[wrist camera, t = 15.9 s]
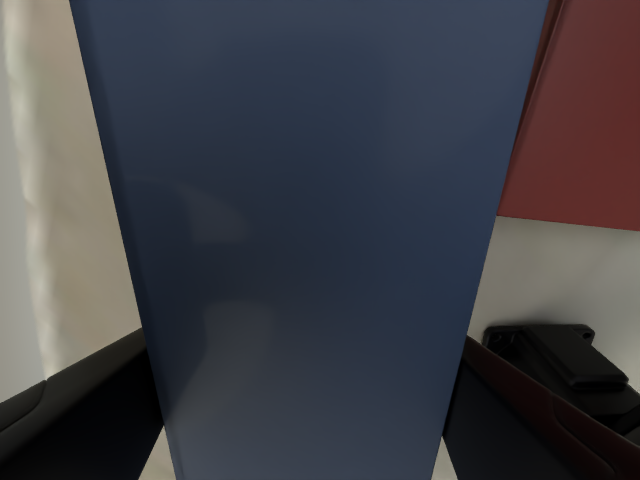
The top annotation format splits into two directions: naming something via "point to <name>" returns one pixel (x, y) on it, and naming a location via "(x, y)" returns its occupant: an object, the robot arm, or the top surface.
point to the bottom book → (580, 120)
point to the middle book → (306, 215)
